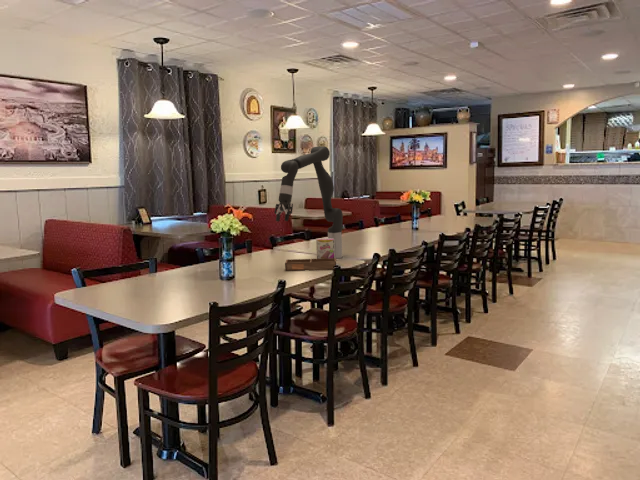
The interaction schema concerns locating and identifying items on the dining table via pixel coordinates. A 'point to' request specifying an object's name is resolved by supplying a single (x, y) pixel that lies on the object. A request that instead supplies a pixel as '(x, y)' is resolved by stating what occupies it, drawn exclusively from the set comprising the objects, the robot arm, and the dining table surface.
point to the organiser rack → (310, 264)
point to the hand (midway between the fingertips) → (281, 221)
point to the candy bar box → (325, 248)
